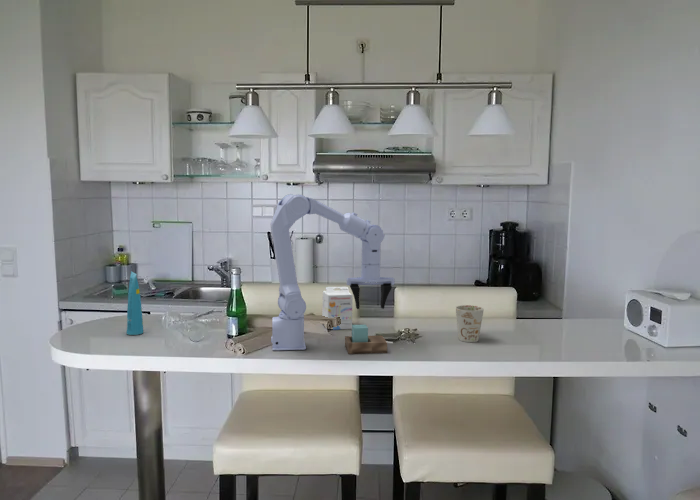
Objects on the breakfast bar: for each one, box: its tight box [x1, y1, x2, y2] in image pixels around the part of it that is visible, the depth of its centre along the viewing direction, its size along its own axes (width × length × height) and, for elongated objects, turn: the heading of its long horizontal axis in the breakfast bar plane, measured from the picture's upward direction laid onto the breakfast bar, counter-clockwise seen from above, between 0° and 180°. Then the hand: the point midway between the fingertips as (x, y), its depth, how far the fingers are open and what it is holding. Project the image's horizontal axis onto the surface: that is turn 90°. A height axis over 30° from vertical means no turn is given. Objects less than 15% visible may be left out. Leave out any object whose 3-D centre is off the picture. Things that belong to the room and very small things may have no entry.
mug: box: [455, 304, 484, 343], centre depth 164 cm, size 8×13×10 cm, turn 152°
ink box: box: [321, 286, 354, 331], centre depth 176 cm, size 9×8×13 cm
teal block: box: [351, 324, 369, 343], centre depth 150 cm, size 4×4×6 cm
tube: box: [126, 271, 144, 336], centre depth 163 cm, size 7×5×19 cm, turn 39°
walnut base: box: [344, 335, 388, 355], centre depth 151 cm, size 11×8×3 cm
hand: (370, 308), depth 160 cm, fingers open, 7 cm apart
